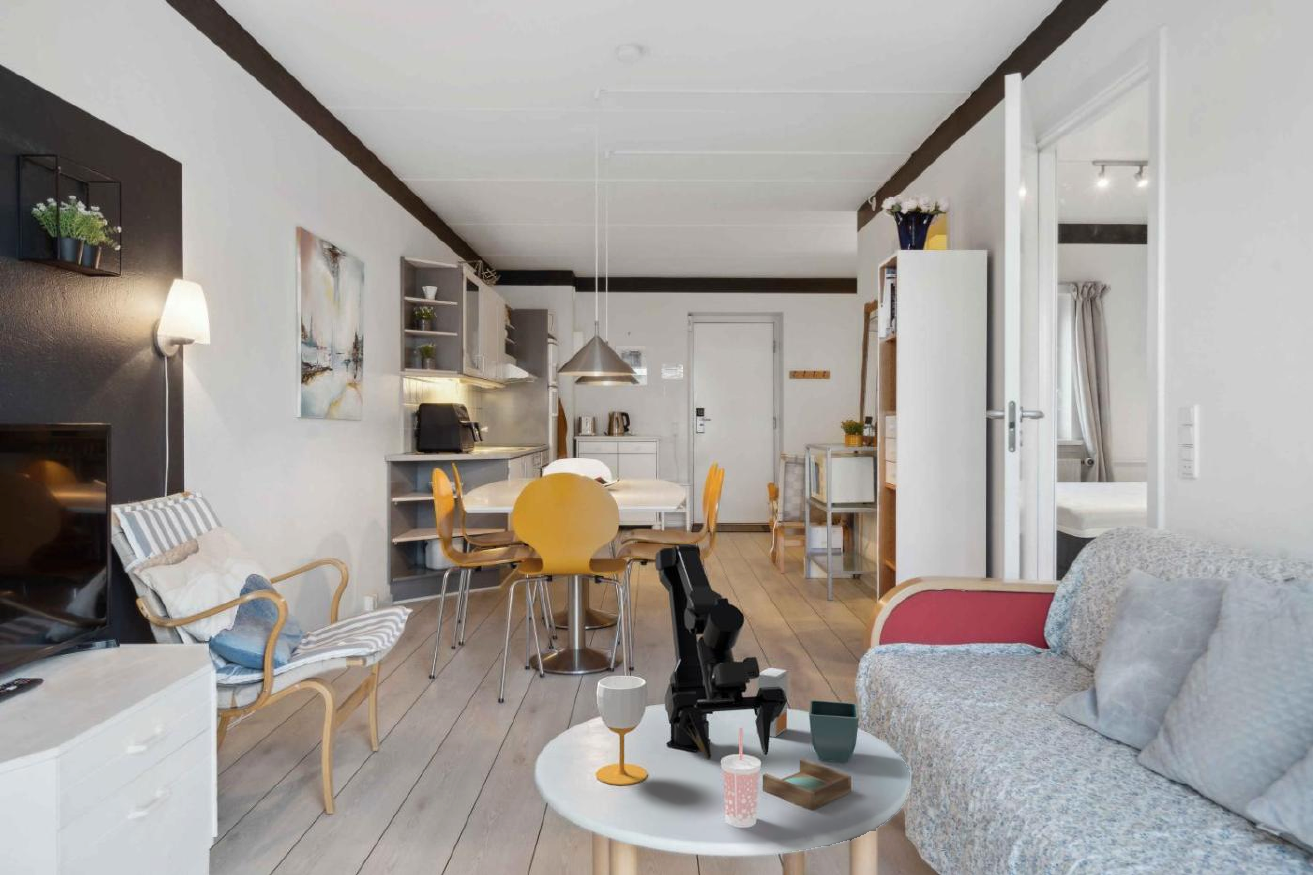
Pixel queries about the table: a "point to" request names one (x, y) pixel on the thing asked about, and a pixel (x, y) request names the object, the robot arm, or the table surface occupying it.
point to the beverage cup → (740, 787)
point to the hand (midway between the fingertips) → (738, 756)
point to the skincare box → (775, 679)
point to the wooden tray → (809, 785)
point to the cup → (622, 722)
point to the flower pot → (833, 729)
